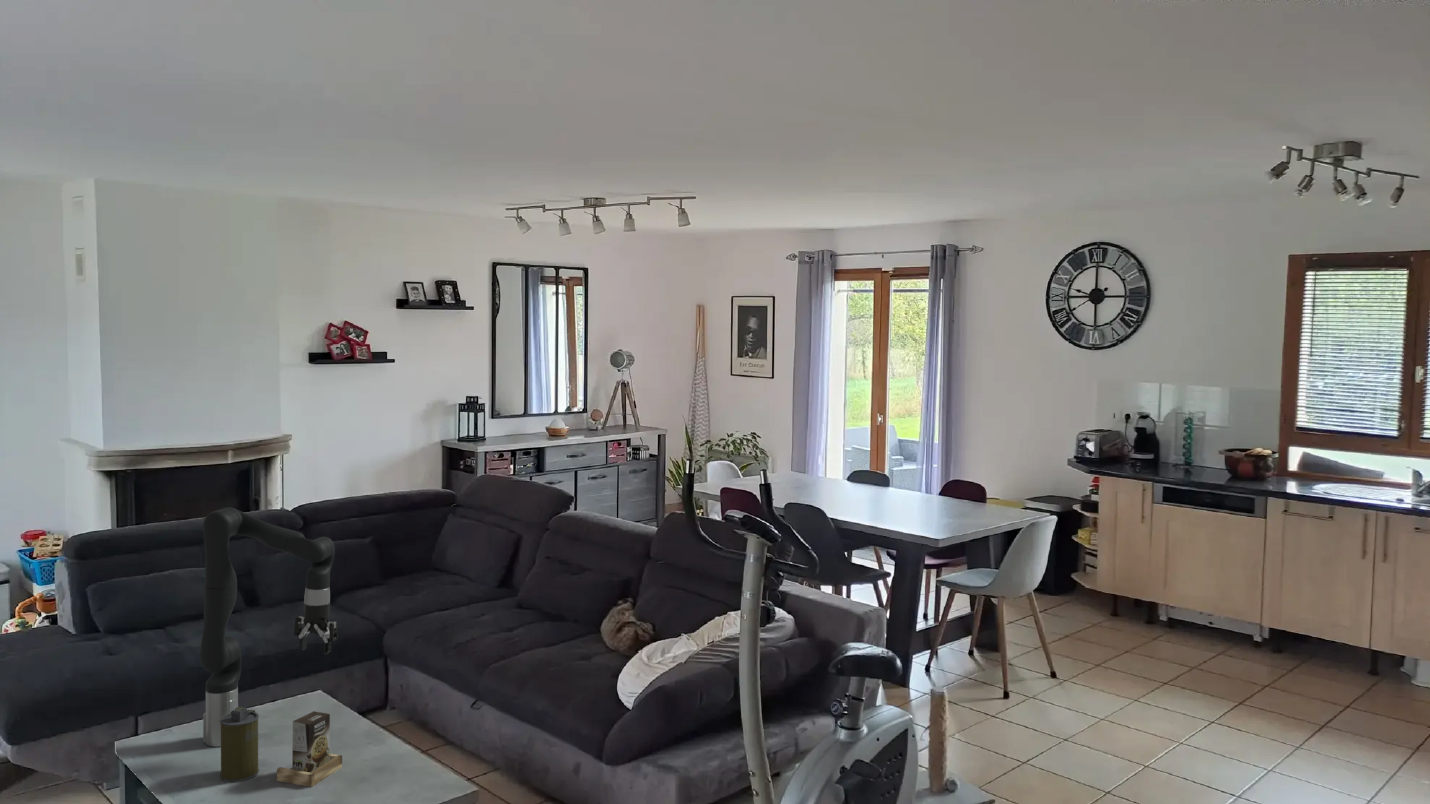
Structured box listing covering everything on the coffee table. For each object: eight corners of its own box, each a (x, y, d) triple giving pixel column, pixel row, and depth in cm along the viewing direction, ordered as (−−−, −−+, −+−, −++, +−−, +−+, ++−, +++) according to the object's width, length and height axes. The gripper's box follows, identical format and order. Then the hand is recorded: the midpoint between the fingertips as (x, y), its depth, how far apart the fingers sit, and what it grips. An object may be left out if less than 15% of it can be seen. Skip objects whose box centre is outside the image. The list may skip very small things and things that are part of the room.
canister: (243, 784, 290) (243, 717, 289) (212, 779, 292) (211, 713, 291) (267, 768, 301) (267, 703, 299) (237, 764, 303) (236, 700, 301)
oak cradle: (277, 780, 293) (276, 768, 293) (308, 761, 306) (308, 749, 306) (311, 787, 290) (311, 775, 289) (342, 767, 303) (342, 755, 303)
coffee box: (308, 777, 293) (308, 724, 292) (291, 773, 295) (291, 720, 294) (330, 765, 301) (330, 713, 300) (313, 761, 304) (313, 710, 302)
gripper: (289, 601, 311) (287, 651, 313) (329, 607, 308) (326, 658, 309) (305, 595, 319) (303, 645, 320) (344, 601, 315) (342, 651, 316)
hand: (315, 651), depth 314 cm, fingers open, 8 cm apart
